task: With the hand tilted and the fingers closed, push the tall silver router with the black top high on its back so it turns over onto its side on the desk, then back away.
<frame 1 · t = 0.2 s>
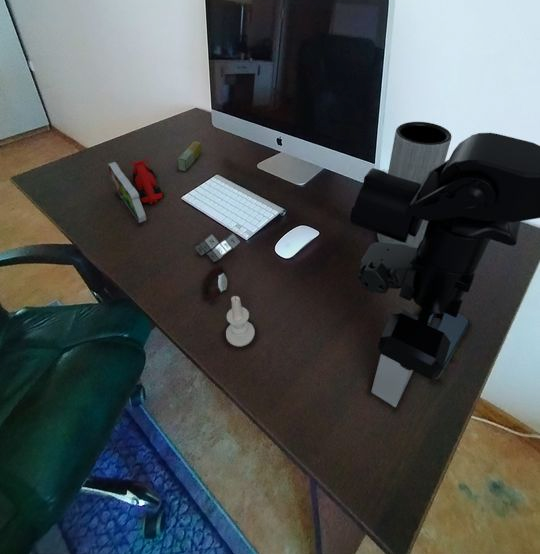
hand: (415, 339, 48), 15 cm above the table, tool pointing down, fingers open, 9 cm apart
building blocks: (218, 254, 84), on the table
toy car: (148, 189, 107), on the table
medication box: (191, 162, 119), on the table
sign: (130, 205, 101), on the table
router: (392, 382, 59), on the table
watch: (215, 288, 76), on the table
candle: (240, 334, 67), on the table
smartphone: (432, 339, 65), on the table
planter: (398, 239, 86), on the table
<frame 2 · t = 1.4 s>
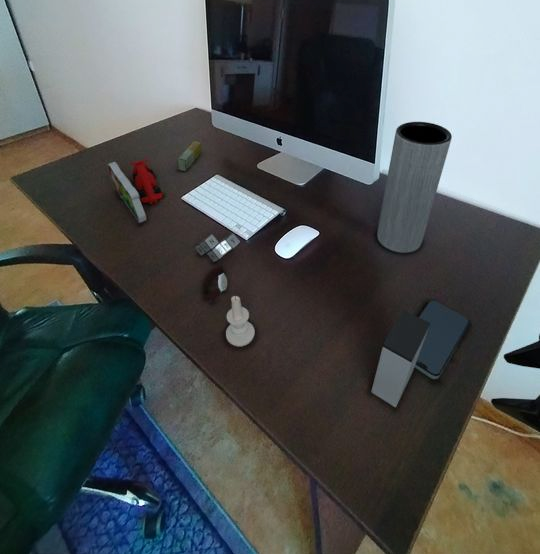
hand: (499, 379, 45), 13 cm above the table, tool tilted 45°, fingers open, 7 cm apart
nothing on the table moved.
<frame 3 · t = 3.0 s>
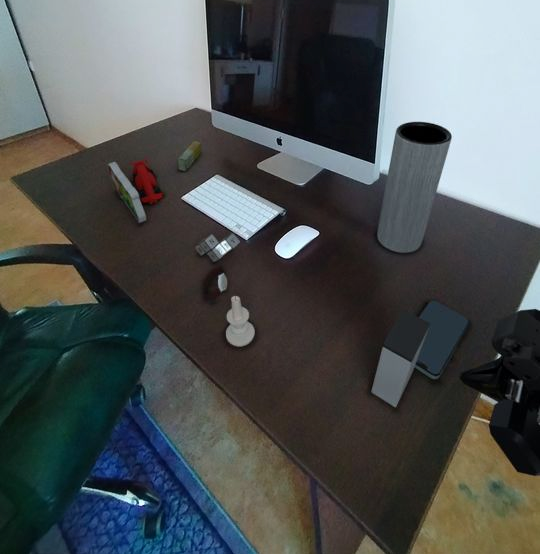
hand: (461, 378, 49), 10 cm above the table, tool tilted 45°, fingers closed
nothing on the table moved.
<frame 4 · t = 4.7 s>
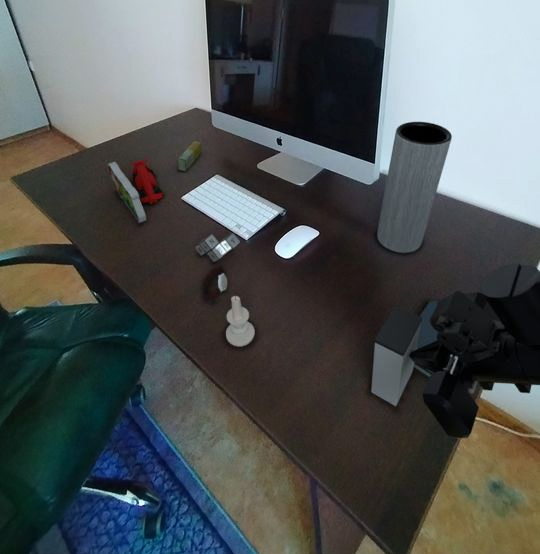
hand: (411, 356, 53), 9 cm above the table, tool tilted 45°, fingers closed
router: (392, 381, 59), on the table, tilted 5°
everything else where it was.
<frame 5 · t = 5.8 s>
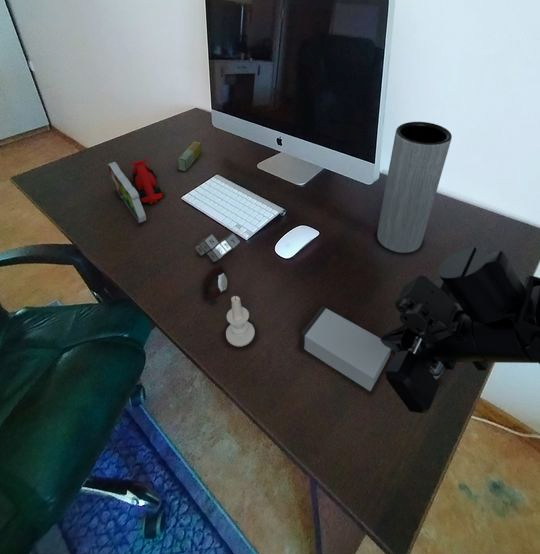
hand: (382, 340, 55), 9 cm above the table, tool tilted 45°, fingers closed
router: (381, 367, 59), point 2 cm above the table, tilted 90°
everything else where it was.
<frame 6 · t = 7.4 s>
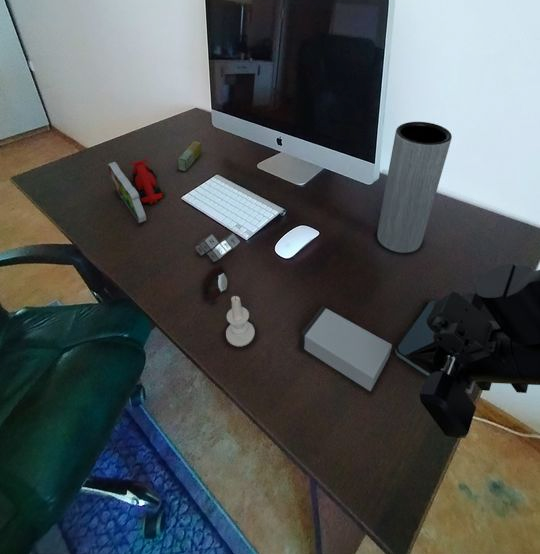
hand: (410, 357, 53), 8 cm above the table, tool tilted 45°, fingers closed
nothing on the table moved.
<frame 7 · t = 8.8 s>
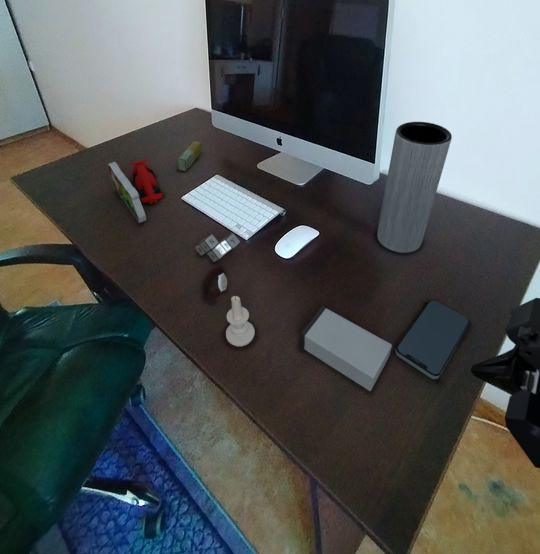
hand: (472, 371, 47), 13 cm above the table, tool tilted 45°, fingers closed
nothing on the table moved.
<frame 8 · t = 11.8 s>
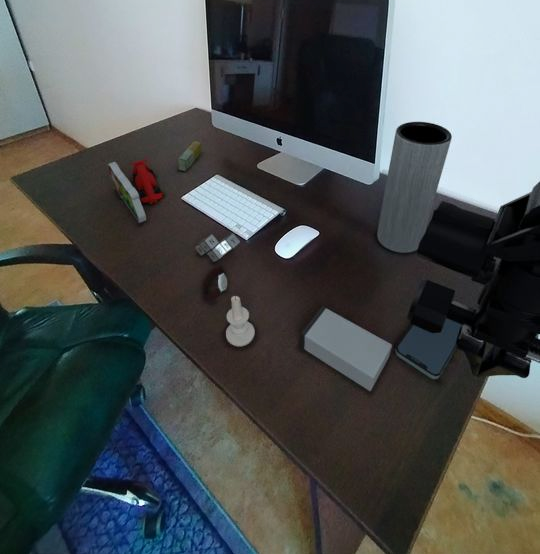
hand: (476, 372, 46), 13 cm above the table, tool pointing down, fingers closed
nothing on the table moved.
at the end: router tilted 90°; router inside the target area (6.4 cm from its centre), point 2.0 cm above the table; planter moved 0.2 cm from its start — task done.
